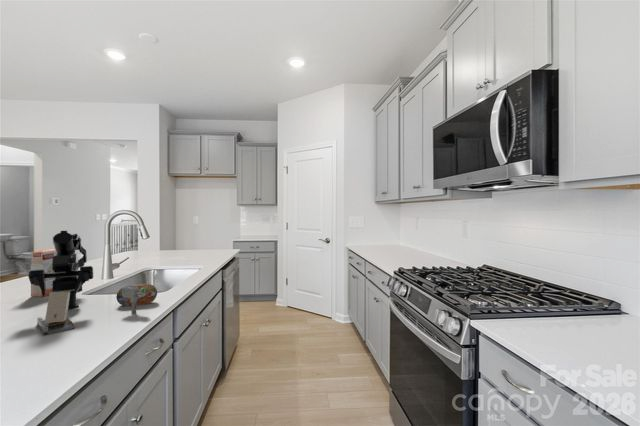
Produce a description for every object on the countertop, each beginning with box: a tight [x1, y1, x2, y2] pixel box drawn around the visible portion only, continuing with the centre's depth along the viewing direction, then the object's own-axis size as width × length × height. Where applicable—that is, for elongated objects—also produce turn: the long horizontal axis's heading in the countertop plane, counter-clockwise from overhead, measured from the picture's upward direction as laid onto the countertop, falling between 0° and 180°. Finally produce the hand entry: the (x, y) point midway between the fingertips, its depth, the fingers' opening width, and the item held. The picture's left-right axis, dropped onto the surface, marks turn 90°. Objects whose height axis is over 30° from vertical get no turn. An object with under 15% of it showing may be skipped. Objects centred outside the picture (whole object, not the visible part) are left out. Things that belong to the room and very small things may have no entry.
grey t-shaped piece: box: [120, 285, 147, 314], centre depth 122 cm, size 3×10×10 cm, turn 79°
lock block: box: [44, 291, 70, 323], centre depth 108 cm, size 5×5×10 cm
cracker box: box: [30, 248, 57, 298], centre depth 148 cm, size 14×6×21 cm, turn 179°
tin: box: [116, 283, 158, 307], centre depth 133 cm, size 15×3×8 cm, turn 111°
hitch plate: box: [36, 316, 76, 336], centre depth 107 cm, size 14×8×2 cm, turn 49°
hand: (59, 294), depth 113 cm, fingers open, 9 cm apart
